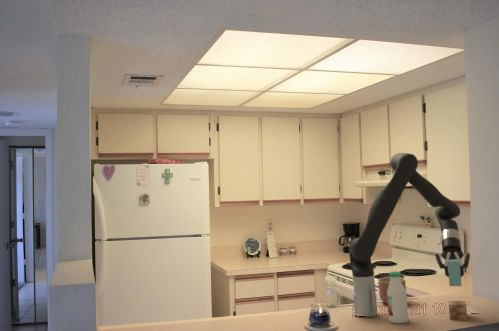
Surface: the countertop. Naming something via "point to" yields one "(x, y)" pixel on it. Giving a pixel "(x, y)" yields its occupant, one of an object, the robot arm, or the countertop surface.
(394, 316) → the milk bottle
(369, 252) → the robot arm
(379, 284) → the planter
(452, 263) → the teal brick
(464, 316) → the tower base
